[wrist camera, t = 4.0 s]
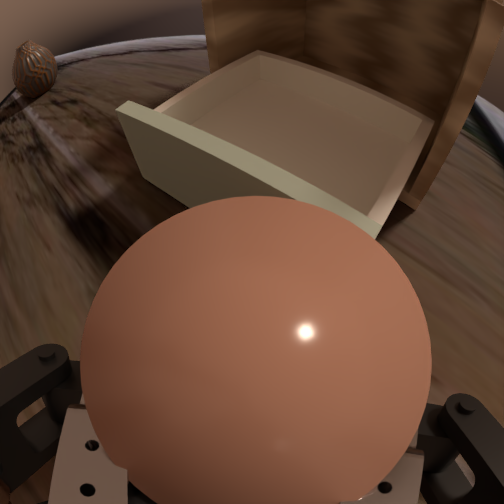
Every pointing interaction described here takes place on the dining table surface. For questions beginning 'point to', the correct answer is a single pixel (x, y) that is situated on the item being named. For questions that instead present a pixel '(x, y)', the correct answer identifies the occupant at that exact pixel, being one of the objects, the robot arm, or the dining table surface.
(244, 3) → the housing
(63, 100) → the dining table surface
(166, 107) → the tray
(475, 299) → the dining table surface
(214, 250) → the canister
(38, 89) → the vase
